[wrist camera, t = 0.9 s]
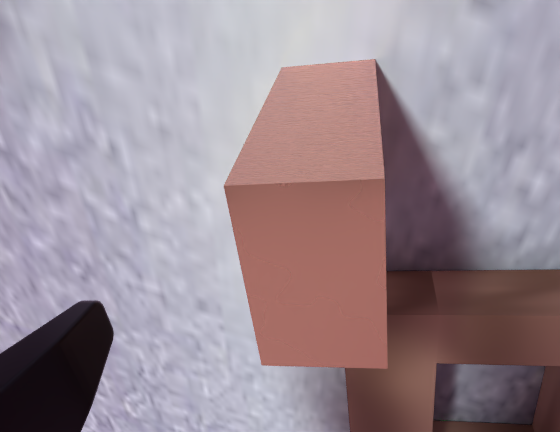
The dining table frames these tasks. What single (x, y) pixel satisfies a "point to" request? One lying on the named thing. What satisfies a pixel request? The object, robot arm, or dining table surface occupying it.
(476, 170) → the dining table surface
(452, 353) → the board with rectangular hole
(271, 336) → the reddish brown block
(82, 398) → the robot arm
